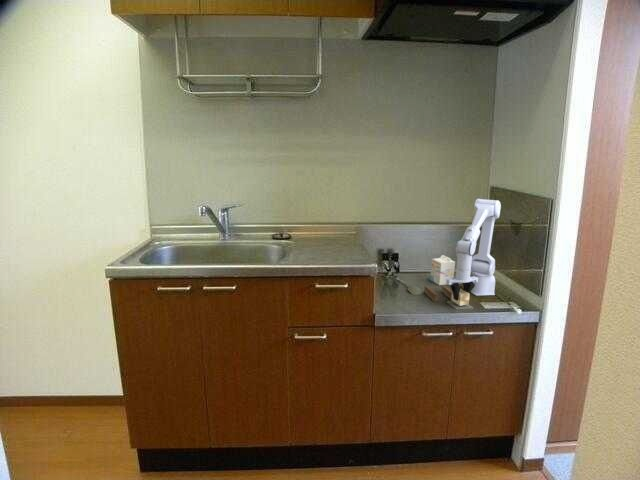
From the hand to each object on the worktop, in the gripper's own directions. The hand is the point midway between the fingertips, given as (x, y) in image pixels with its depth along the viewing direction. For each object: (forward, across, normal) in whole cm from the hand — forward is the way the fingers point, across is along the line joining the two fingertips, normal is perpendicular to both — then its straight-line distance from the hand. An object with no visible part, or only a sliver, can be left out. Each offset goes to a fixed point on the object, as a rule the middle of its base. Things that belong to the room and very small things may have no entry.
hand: (460, 299), depth 168 cm
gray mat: (+3, 0, 0) cm, 3 cm away
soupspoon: (+4, +10, -27) cm, 29 cm away
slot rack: (+3, +2, -12) cm, 13 cm away
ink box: (+3, -11, -30) cm, 32 cm away
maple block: (+2, 0, 0) cm, 2 cm away
